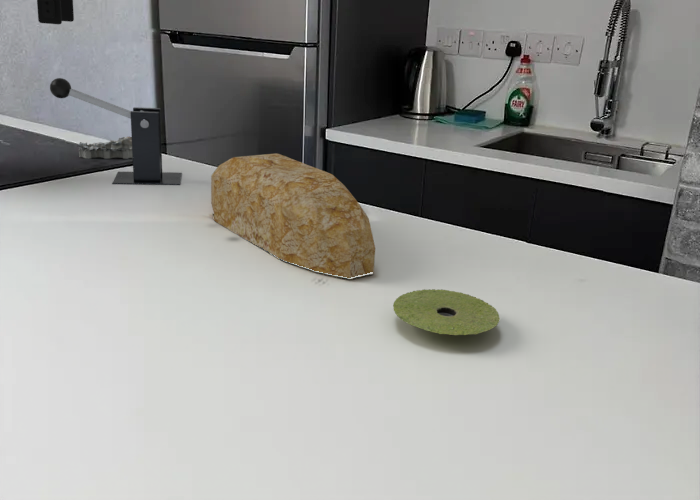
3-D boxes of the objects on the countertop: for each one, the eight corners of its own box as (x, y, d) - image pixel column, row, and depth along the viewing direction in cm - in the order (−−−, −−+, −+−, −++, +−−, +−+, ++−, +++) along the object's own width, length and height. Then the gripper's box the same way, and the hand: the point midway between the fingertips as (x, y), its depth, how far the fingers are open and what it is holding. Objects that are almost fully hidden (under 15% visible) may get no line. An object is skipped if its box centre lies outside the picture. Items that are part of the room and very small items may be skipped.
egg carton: (138, 156, 138) (137, 136, 136) (135, 164, 131) (134, 143, 130) (82, 155, 135) (80, 134, 134) (76, 163, 129) (74, 142, 127)
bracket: (112, 190, 114) (107, 112, 109) (118, 178, 121) (114, 105, 117) (180, 190, 116) (178, 115, 111) (182, 178, 123) (180, 107, 119)
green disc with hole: (408, 354, 67) (410, 336, 66) (380, 305, 77) (381, 289, 76) (515, 349, 69) (518, 331, 68) (473, 302, 79) (475, 287, 79)
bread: (191, 207, 107) (190, 144, 104) (252, 199, 114) (253, 139, 110) (324, 286, 81) (328, 205, 78) (393, 270, 87) (400, 194, 84)
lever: (45, 95, 109) (51, 76, 108) (49, 92, 112) (55, 73, 111) (150, 134, 114) (156, 116, 113) (152, 130, 117) (158, 113, 116)
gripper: (36, -95, 109) (44, 18, 114) (6, -110, 93) (16, 22, 98) (86, -90, 110) (91, 21, 116) (64, -103, 94) (72, 26, 100)
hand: (57, 22), depth 107 cm, fingers open, 9 cm apart
